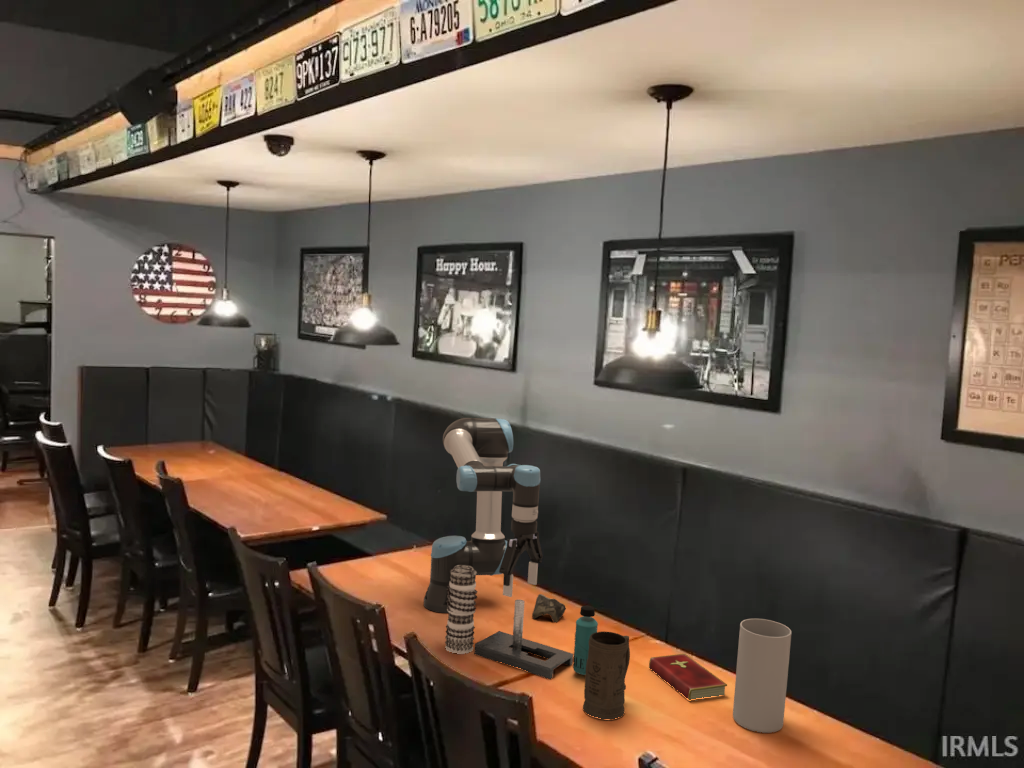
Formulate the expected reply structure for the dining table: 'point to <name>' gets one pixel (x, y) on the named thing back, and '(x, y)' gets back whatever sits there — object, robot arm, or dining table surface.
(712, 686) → the hardcover book
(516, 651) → the keyhole plate
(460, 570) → the decorative candle
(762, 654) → the cylinder vase
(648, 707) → the dining table surface
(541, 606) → the fossil
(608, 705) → the beer stein
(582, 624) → the beverage bottle
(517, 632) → the steel peg
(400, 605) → the dining table surface
